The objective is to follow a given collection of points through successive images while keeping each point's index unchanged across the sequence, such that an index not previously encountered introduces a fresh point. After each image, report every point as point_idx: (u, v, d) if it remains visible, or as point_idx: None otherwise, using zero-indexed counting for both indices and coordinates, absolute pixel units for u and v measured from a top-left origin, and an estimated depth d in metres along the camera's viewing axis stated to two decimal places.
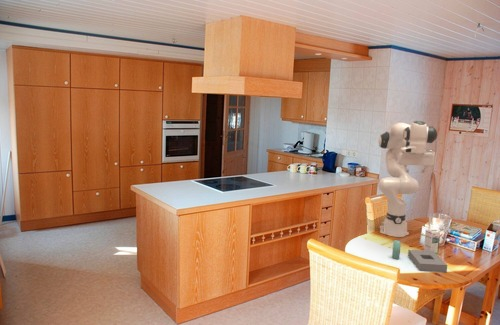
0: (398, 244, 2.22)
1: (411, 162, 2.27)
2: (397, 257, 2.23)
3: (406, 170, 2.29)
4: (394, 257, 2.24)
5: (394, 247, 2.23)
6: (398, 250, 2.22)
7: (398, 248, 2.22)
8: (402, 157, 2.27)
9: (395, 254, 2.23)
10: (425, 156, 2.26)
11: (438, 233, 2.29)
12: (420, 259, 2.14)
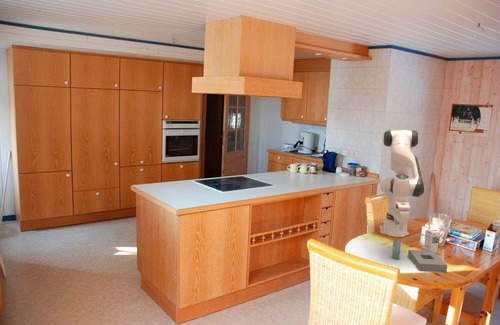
0: (398, 244, 2.22)
1: None
2: (397, 257, 2.23)
3: (402, 228, 2.17)
4: (394, 257, 2.24)
5: (394, 247, 2.23)
6: (398, 250, 2.22)
7: (398, 248, 2.22)
8: None
9: (395, 254, 2.23)
10: None
11: (438, 233, 2.29)
12: (420, 259, 2.14)
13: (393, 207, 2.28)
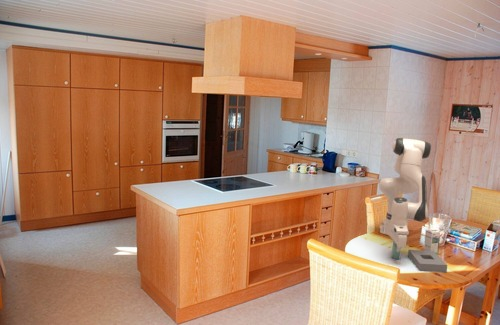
0: None
1: None
2: (397, 257, 2.23)
3: (399, 249, 2.21)
4: (394, 257, 2.24)
5: (394, 247, 2.23)
6: None
7: None
8: None
9: (395, 254, 2.23)
10: None
11: (438, 233, 2.29)
12: (420, 259, 2.14)
13: None
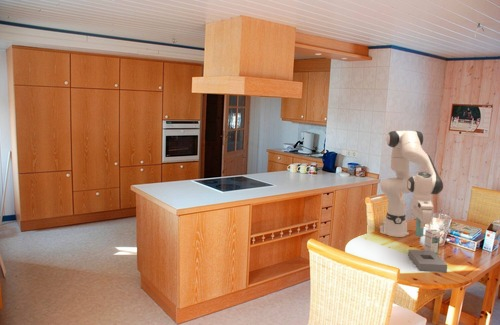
0: None
1: None
2: (421, 234, 2.15)
3: (423, 226, 2.13)
4: (417, 234, 2.16)
5: (417, 224, 2.16)
6: None
7: None
8: None
9: (419, 231, 2.15)
10: None
11: (438, 233, 2.29)
12: (420, 259, 2.14)
13: (414, 206, 2.22)
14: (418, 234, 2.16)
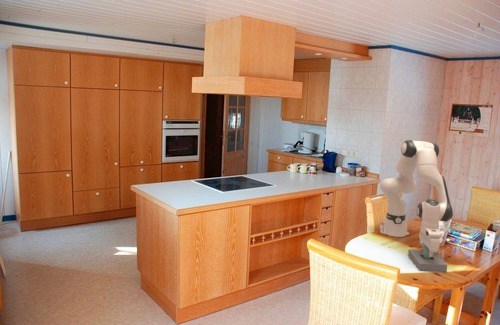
0: None
1: None
2: None
3: (432, 254, 2.12)
4: None
5: (425, 252, 2.16)
6: None
7: None
8: None
9: None
10: None
11: None
12: (420, 259, 2.14)
13: (421, 232, 2.22)
14: None
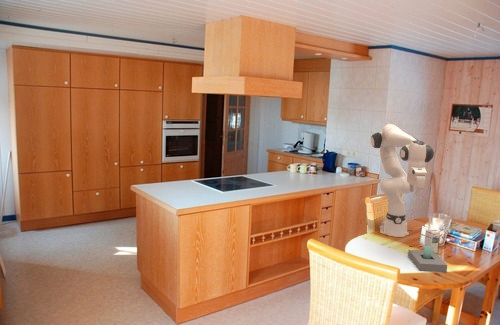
0: (429, 249, 2.15)
1: None
2: None
3: (418, 193, 2.19)
4: None
5: (425, 252, 2.16)
6: (429, 256, 2.15)
7: (429, 254, 2.15)
8: None
9: None
10: None
11: (438, 233, 2.29)
12: (420, 259, 2.14)
13: (409, 174, 2.30)
14: None
